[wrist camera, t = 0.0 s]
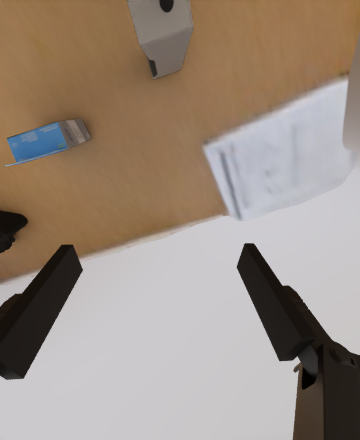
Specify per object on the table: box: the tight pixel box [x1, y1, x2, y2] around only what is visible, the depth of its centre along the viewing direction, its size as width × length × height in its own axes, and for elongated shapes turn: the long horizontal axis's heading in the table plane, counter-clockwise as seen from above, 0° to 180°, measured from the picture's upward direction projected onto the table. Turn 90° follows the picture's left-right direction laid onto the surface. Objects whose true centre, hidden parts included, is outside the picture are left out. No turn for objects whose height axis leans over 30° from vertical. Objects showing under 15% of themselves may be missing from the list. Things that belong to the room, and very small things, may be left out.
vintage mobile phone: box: [127, 0, 193, 79], centre depth 17 cm, size 4×5×25 cm
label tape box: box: [3, 118, 92, 166], centre depth 27 cm, size 9×4×12 cm, turn 105°
